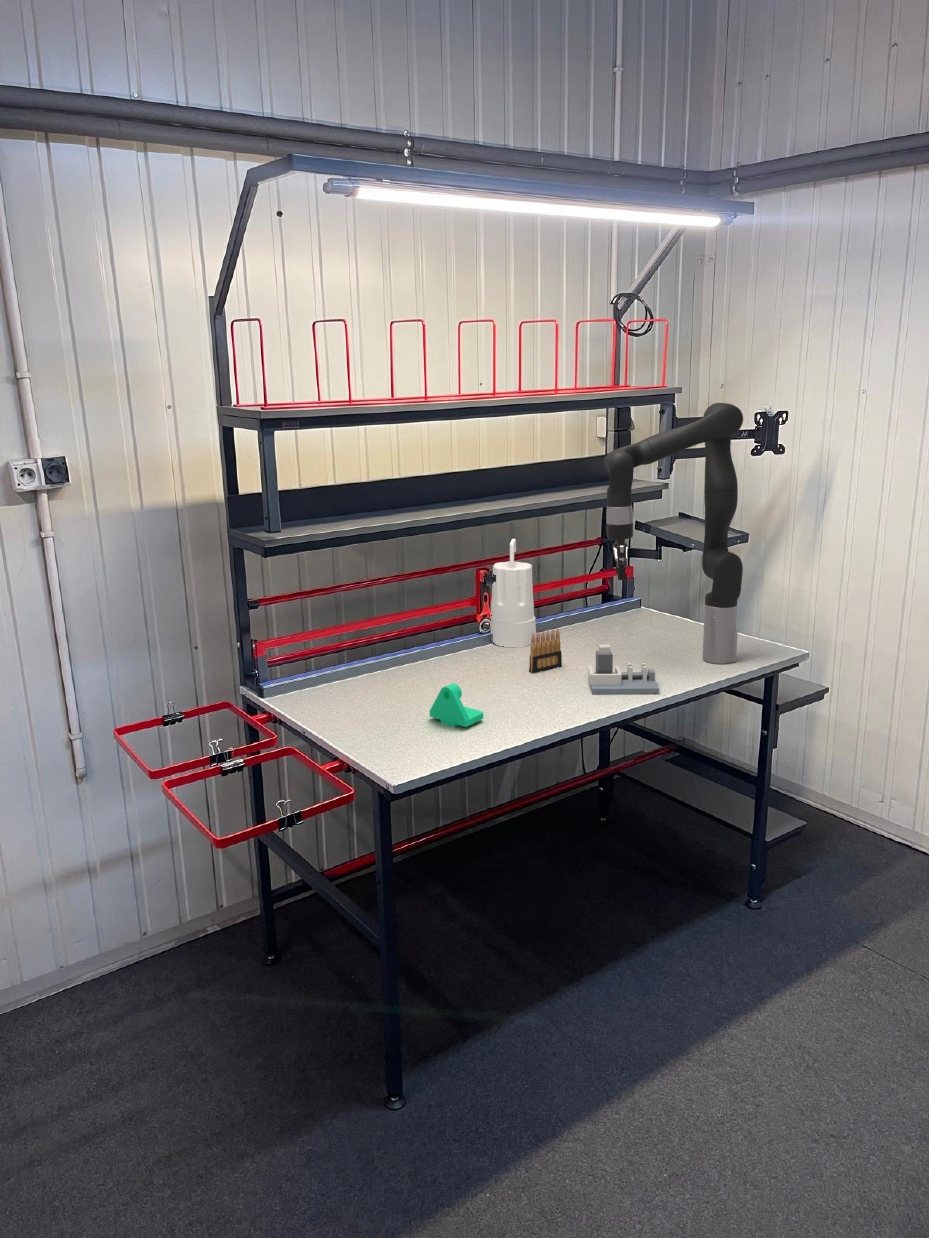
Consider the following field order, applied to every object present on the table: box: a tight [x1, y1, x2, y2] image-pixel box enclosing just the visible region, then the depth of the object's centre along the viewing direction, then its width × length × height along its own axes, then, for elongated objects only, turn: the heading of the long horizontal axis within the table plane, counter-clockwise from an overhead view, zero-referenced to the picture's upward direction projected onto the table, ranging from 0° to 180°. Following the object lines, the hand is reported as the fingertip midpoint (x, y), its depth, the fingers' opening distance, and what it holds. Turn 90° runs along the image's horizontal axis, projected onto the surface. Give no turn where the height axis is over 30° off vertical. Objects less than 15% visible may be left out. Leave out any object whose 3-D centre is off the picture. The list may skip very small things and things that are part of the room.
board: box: [587, 662, 660, 695], centre depth 251 cm, size 18×14×6 cm
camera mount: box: [429, 683, 484, 728], centre depth 228 cm, size 12×8×10 cm, turn 50°
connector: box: [595, 643, 614, 674], centre depth 250 cm, size 4×4×10 cm
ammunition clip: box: [528, 627, 563, 674], centre depth 266 cm, size 11×2×12 cm, turn 121°
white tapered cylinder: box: [490, 538, 537, 648], centre depth 293 cm, size 15×15×33 cm
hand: (620, 576), depth 262 cm, fingers open, 8 cm apart
